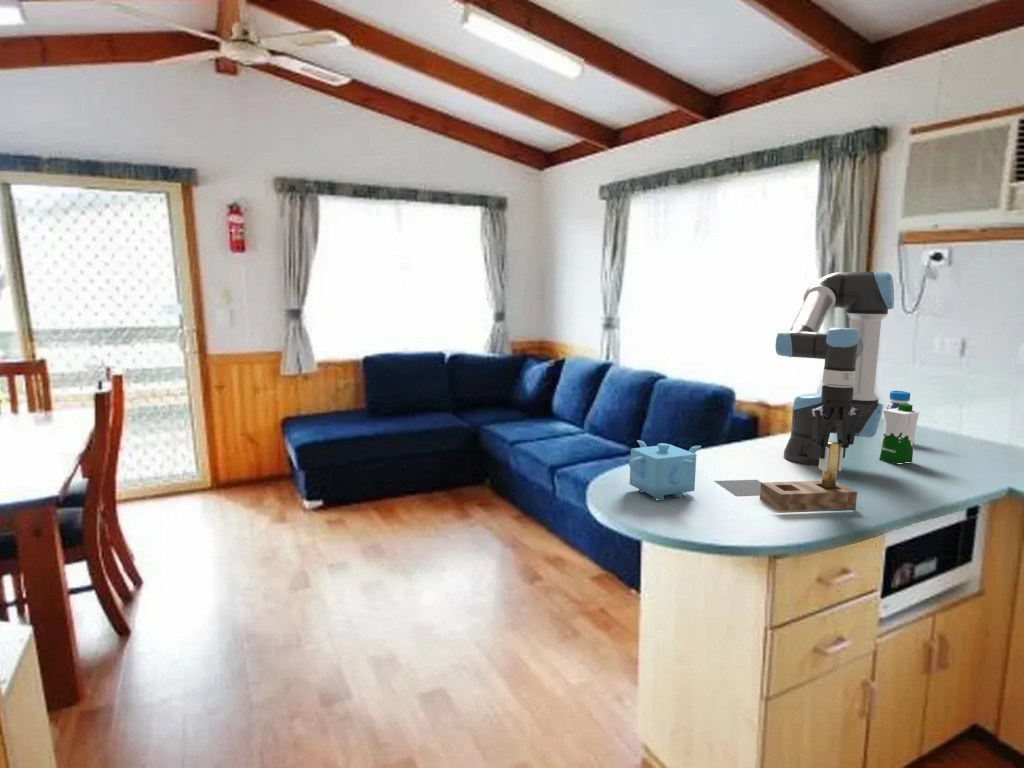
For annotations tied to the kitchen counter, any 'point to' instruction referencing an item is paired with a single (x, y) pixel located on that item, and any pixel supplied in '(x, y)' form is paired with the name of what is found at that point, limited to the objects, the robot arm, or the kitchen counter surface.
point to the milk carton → (899, 434)
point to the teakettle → (663, 469)
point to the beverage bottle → (898, 399)
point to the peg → (831, 465)
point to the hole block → (807, 495)
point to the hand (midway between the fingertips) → (829, 469)
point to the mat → (742, 487)
